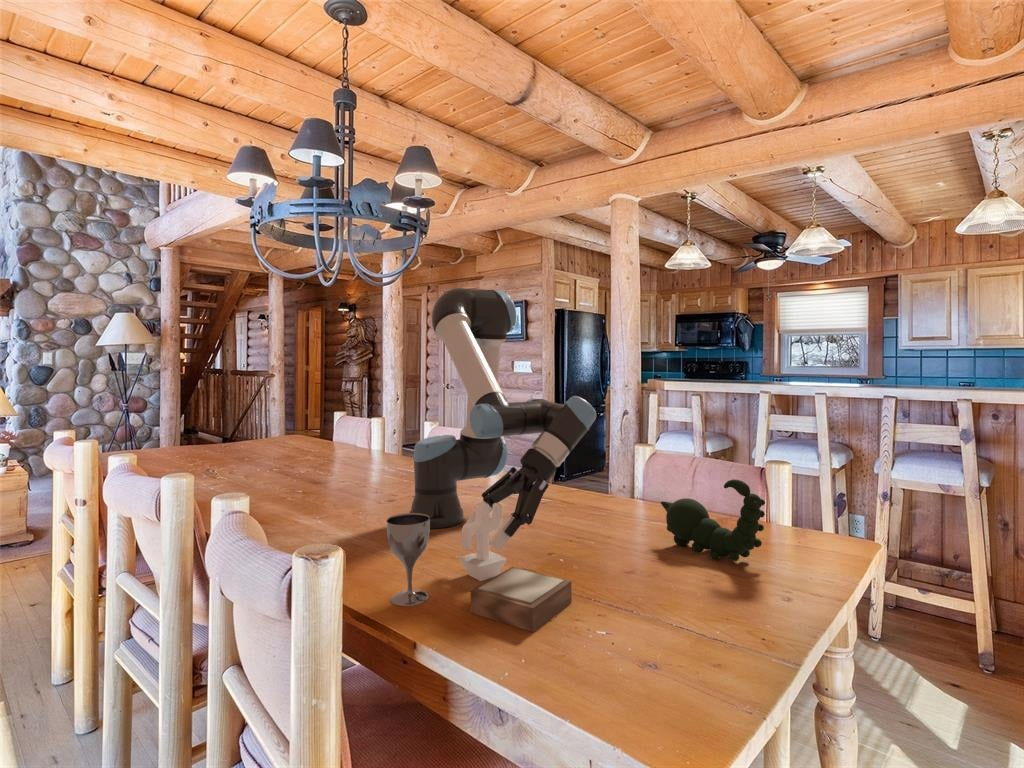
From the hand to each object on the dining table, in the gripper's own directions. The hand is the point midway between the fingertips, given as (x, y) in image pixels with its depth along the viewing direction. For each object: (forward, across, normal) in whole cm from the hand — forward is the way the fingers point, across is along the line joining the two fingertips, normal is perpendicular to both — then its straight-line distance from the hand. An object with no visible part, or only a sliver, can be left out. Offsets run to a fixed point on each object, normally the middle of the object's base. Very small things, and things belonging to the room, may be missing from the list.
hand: (480, 537), depth 111 cm
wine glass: (+17, -3, +5) cm, 18 cm away
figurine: (+6, +1, -6) cm, 8 cm away
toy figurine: (-30, -11, -42) cm, 53 cm away
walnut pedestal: (+5, -16, -6) cm, 18 cm away
